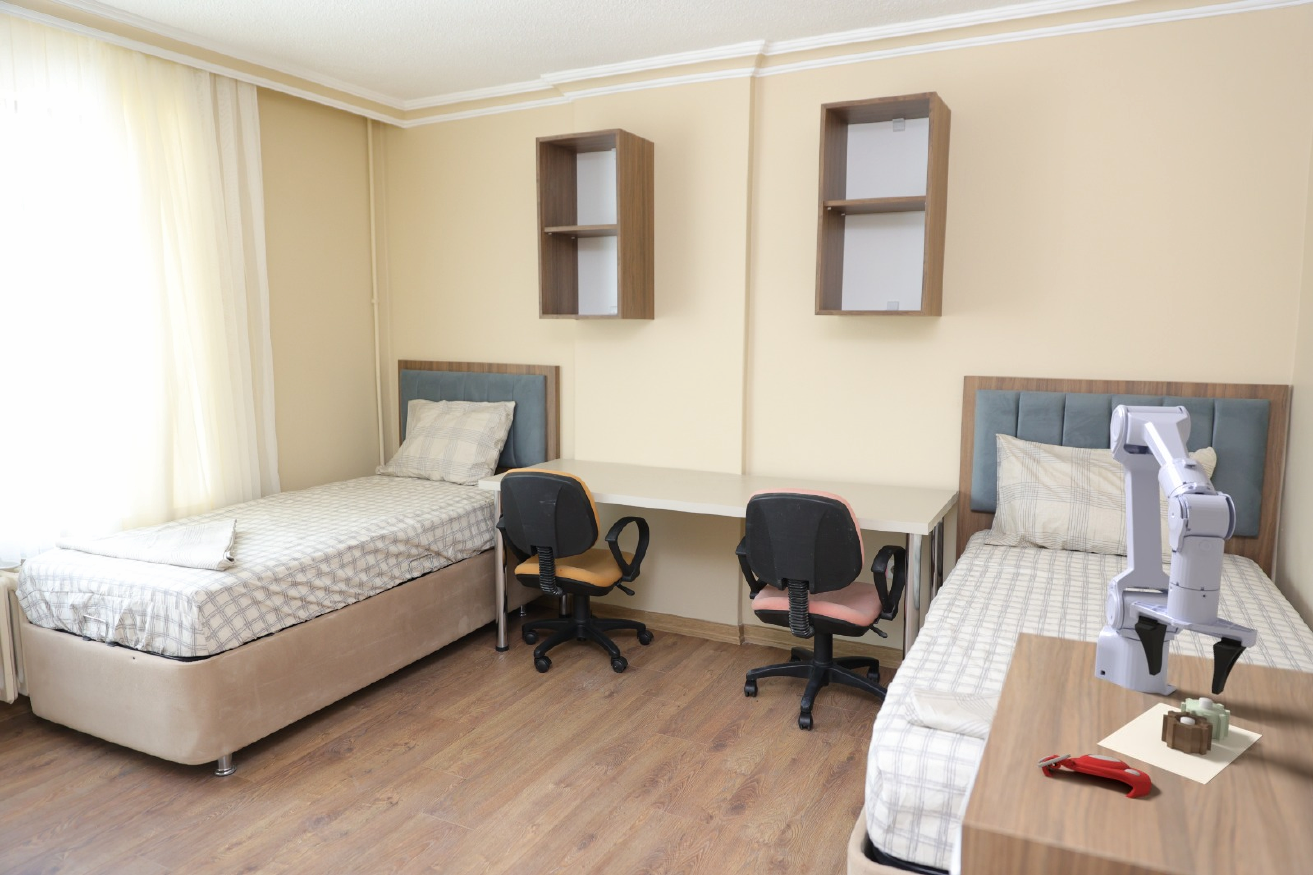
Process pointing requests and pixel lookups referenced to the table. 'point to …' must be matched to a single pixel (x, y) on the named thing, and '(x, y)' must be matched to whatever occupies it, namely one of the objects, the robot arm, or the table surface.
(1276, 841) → the table surface
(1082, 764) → the red peeler
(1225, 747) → the gear board
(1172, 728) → the walnut gear
